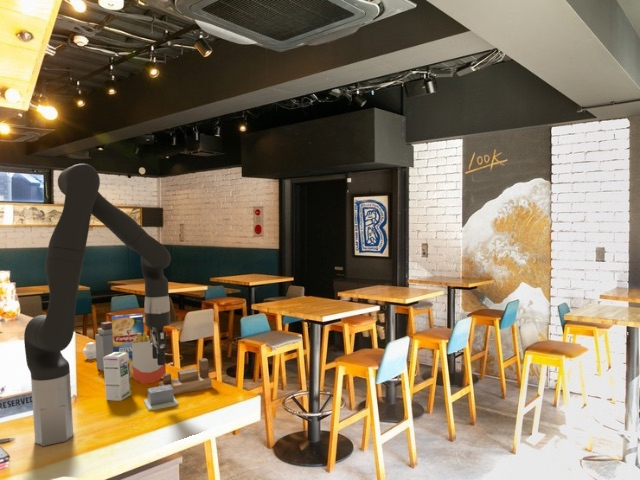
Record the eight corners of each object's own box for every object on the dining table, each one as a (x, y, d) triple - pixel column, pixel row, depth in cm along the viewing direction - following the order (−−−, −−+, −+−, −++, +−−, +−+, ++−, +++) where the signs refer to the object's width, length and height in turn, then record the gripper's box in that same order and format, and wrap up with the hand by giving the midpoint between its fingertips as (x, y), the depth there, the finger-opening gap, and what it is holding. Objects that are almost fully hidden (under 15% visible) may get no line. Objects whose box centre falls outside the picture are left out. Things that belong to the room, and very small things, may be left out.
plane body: (211, 387, 174) (210, 361, 173) (163, 396, 166) (162, 369, 166) (206, 381, 180) (204, 356, 180) (159, 390, 173) (158, 364, 172)
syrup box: (121, 401, 163) (119, 356, 163) (105, 400, 165) (102, 356, 164) (131, 394, 169) (129, 351, 168) (115, 394, 170) (113, 351, 169)
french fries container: (133, 381, 183) (131, 331, 182) (164, 376, 187) (162, 328, 186) (134, 384, 179) (131, 334, 178) (166, 380, 183) (163, 330, 182)
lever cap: (173, 401, 160) (173, 389, 160) (150, 406, 157) (150, 393, 157) (170, 396, 165) (169, 384, 164) (147, 401, 161) (147, 388, 161)
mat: (178, 404, 159) (178, 403, 159) (148, 411, 155) (148, 409, 154) (172, 396, 167) (172, 394, 167) (143, 401, 162) (143, 399, 162)
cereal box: (146, 374, 190) (143, 316, 189) (114, 379, 186) (111, 319, 185) (145, 369, 196) (142, 313, 195) (114, 373, 192) (111, 316, 191)
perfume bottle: (96, 368, 200) (94, 323, 199) (113, 364, 205) (111, 320, 204) (104, 371, 195) (102, 325, 194) (121, 367, 200) (119, 322, 199)
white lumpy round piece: (97, 355, 218) (96, 339, 218) (101, 358, 214) (100, 342, 213) (81, 358, 215) (80, 342, 214) (85, 361, 210) (84, 344, 209)
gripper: (141, 308, 163) (142, 358, 164) (148, 314, 151) (150, 369, 151) (165, 305, 167) (166, 354, 167) (174, 312, 154) (175, 365, 155)
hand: (158, 361), depth 159 cm, fingers open, 8 cm apart
